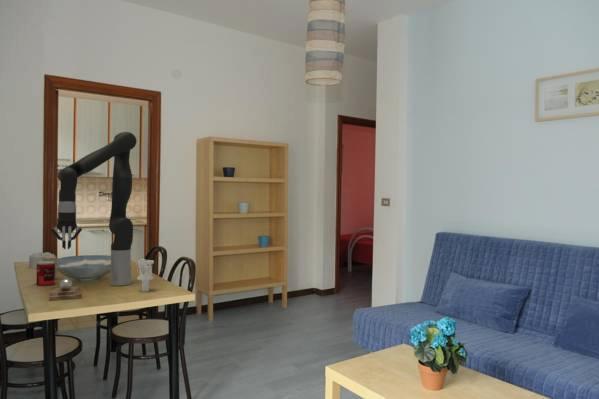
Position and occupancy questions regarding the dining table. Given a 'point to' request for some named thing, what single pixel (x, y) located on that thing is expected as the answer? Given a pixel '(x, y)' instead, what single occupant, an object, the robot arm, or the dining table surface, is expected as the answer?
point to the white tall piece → (145, 273)
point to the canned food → (45, 273)
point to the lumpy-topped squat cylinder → (37, 259)
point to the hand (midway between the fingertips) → (66, 248)
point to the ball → (65, 284)
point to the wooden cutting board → (65, 293)
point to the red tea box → (51, 258)
